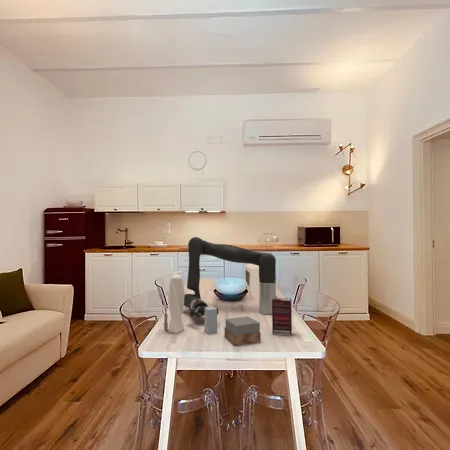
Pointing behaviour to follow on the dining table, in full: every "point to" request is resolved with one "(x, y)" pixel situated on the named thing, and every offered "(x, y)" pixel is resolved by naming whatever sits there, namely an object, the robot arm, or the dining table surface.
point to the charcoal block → (242, 325)
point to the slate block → (210, 320)
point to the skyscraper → (175, 304)
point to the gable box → (252, 277)
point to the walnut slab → (242, 338)
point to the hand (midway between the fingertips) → (207, 315)
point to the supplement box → (281, 316)
